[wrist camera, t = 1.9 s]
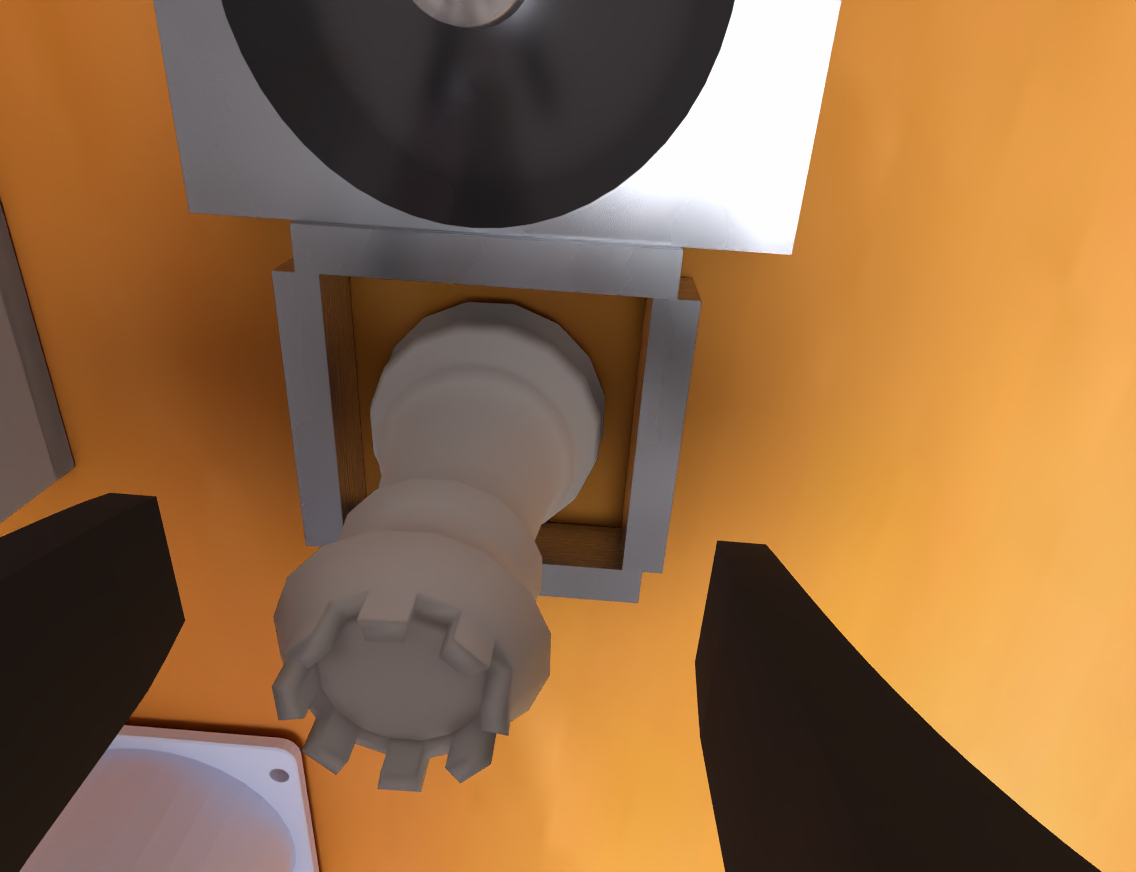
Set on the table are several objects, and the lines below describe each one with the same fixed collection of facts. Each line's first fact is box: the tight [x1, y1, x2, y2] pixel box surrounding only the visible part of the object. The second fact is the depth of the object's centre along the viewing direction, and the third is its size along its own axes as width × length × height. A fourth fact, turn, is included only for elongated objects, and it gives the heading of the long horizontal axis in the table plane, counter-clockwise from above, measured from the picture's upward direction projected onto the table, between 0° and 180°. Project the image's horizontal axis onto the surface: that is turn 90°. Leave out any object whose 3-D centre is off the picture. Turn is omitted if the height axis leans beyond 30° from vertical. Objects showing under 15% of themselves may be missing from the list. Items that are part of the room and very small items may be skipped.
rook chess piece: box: [272, 302, 605, 792], centre depth 11 cm, size 4×4×8 cm
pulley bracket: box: [153, 0, 841, 603], centre depth 12 cm, size 15×10×4 cm
